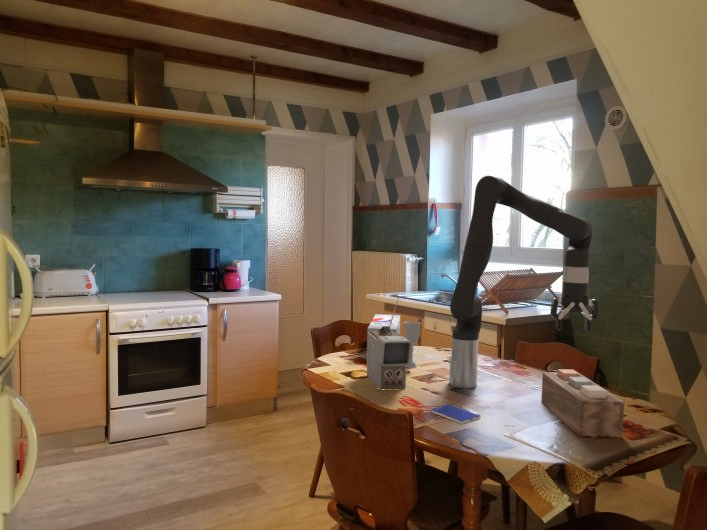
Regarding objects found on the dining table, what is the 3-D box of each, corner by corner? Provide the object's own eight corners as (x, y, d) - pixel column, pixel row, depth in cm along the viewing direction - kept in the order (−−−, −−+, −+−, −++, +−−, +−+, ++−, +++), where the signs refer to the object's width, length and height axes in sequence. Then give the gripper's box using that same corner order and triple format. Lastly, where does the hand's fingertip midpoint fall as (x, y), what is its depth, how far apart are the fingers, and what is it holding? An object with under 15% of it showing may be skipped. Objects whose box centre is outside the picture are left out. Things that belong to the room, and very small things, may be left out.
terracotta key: (562, 388, 176) (563, 373, 176) (556, 383, 181) (557, 369, 181) (578, 388, 176) (579, 373, 176) (572, 384, 181) (573, 369, 181)
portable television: (380, 393, 190) (383, 306, 188) (365, 374, 214) (366, 296, 211) (414, 392, 193) (417, 305, 191) (395, 373, 216) (397, 296, 214)
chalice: (422, 366, 228) (424, 322, 227) (415, 369, 223) (416, 324, 221) (406, 363, 232) (408, 320, 231) (399, 366, 226) (400, 322, 225)
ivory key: (587, 407, 158) (588, 390, 158) (580, 401, 163) (581, 385, 163) (605, 407, 158) (606, 390, 158) (597, 401, 163) (598, 385, 163)
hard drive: (431, 408, 173) (462, 420, 163) (449, 403, 178) (480, 415, 168) (431, 413, 173) (462, 425, 163) (449, 408, 178) (480, 420, 168)
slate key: (574, 397, 167) (575, 381, 167) (568, 392, 172) (568, 376, 172) (591, 397, 167) (592, 381, 167) (584, 392, 172) (585, 377, 172)
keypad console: (579, 436, 155) (581, 401, 154) (541, 402, 185) (542, 372, 184) (622, 437, 155) (624, 401, 155) (577, 402, 185) (579, 372, 185)
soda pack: (396, 361, 236) (397, 328, 235) (365, 359, 238) (366, 327, 237) (400, 341, 276) (401, 313, 275) (374, 340, 278) (375, 312, 277)
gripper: (557, 281, 175) (554, 332, 177) (603, 282, 175) (600, 334, 176) (549, 279, 183) (547, 328, 184) (593, 280, 182) (591, 329, 184)
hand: (573, 331), depth 180 cm, fingers open, 8 cm apart
